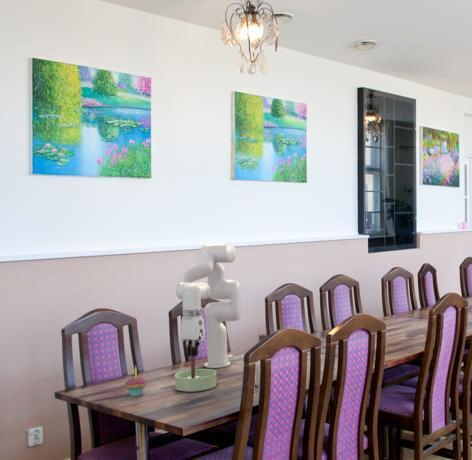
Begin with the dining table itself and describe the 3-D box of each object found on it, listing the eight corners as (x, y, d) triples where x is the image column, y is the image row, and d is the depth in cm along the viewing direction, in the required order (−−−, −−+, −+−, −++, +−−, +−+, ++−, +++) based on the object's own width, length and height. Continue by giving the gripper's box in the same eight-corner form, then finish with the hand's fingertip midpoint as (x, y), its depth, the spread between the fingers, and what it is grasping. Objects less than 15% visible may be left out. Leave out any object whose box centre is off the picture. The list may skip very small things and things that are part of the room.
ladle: (193, 382, 281) (192, 341, 281) (201, 383, 279) (201, 342, 278) (184, 384, 277) (183, 343, 276) (193, 386, 274) (192, 344, 274)
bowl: (195, 380, 291) (195, 367, 291) (224, 384, 283) (224, 371, 283) (166, 390, 275) (166, 376, 275) (196, 394, 268) (196, 380, 267)
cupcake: (125, 393, 271) (124, 364, 271) (146, 390, 275) (146, 362, 274) (125, 398, 263) (124, 369, 263) (147, 395, 267) (147, 367, 266)
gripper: (212, 313, 277) (212, 355, 277) (184, 311, 284) (185, 352, 284) (199, 315, 270) (200, 359, 271) (171, 313, 277) (172, 356, 278)
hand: (192, 355), depth 277 cm, fingers closed on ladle
